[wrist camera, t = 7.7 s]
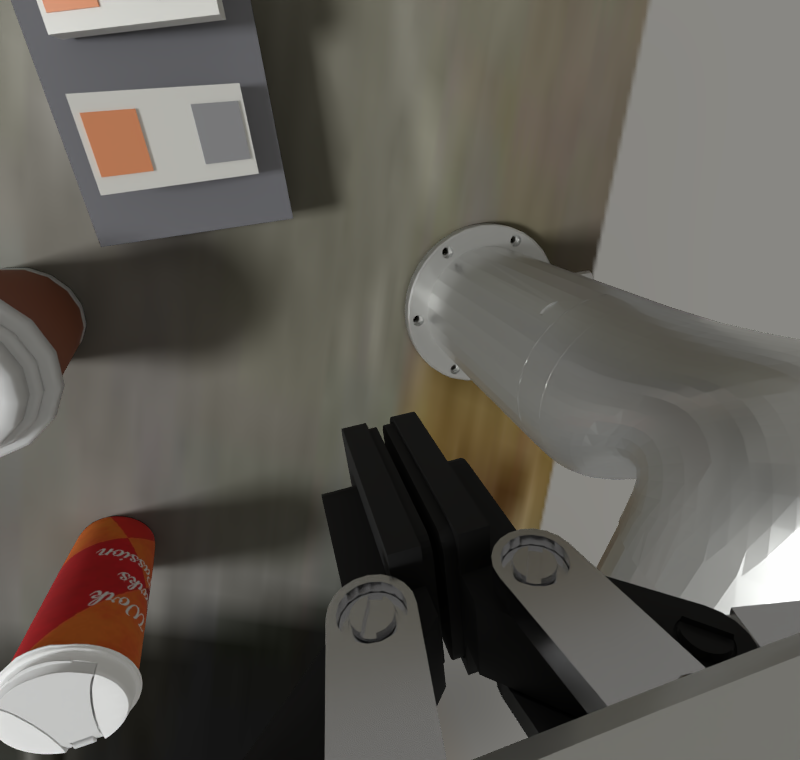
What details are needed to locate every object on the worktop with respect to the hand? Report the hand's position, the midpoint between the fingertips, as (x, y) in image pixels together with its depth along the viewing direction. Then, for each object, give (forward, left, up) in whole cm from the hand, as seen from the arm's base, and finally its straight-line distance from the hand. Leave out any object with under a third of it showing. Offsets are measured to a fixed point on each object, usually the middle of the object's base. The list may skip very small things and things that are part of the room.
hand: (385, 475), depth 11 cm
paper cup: (+18, +20, -27) cm, 38 cm away
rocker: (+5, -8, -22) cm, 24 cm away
